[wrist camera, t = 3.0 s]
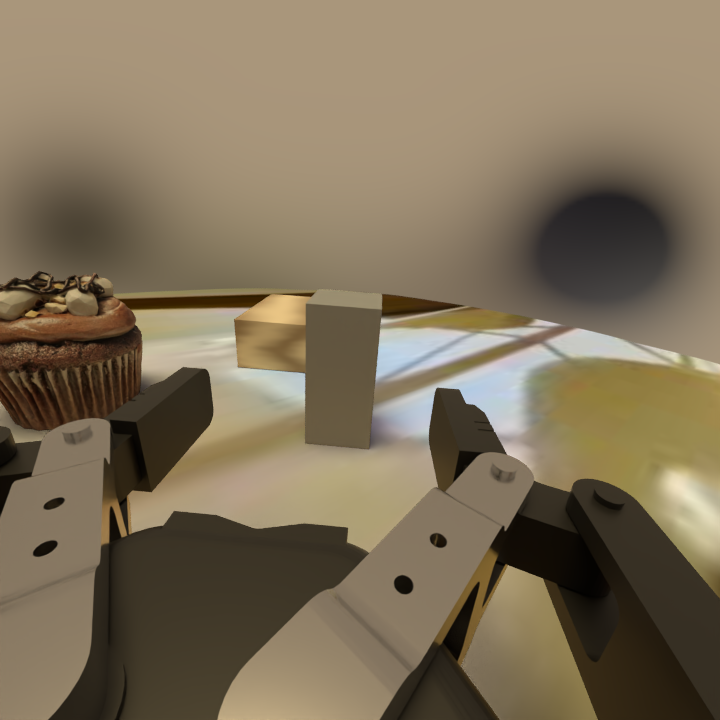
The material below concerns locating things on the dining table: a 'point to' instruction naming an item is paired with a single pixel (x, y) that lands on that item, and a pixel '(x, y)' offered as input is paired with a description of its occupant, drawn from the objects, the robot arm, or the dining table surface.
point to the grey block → (341, 366)
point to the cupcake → (66, 350)
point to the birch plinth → (273, 334)
